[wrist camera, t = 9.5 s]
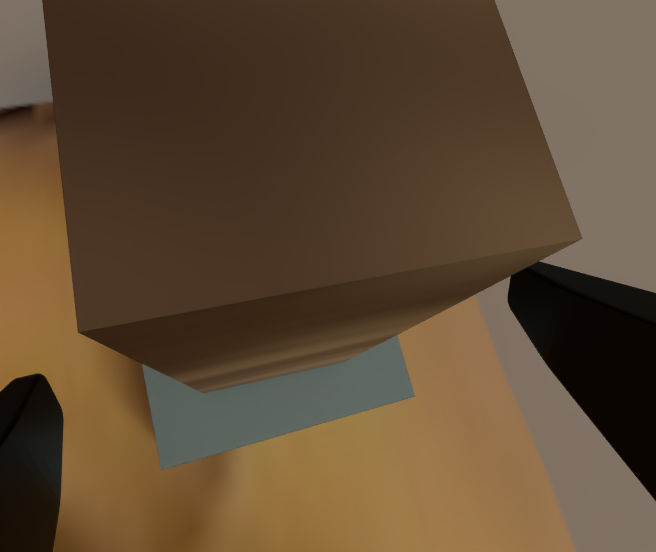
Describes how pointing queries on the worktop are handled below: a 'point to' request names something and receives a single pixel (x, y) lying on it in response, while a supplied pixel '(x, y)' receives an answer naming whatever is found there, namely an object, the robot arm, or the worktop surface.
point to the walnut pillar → (290, 175)
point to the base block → (270, 404)
